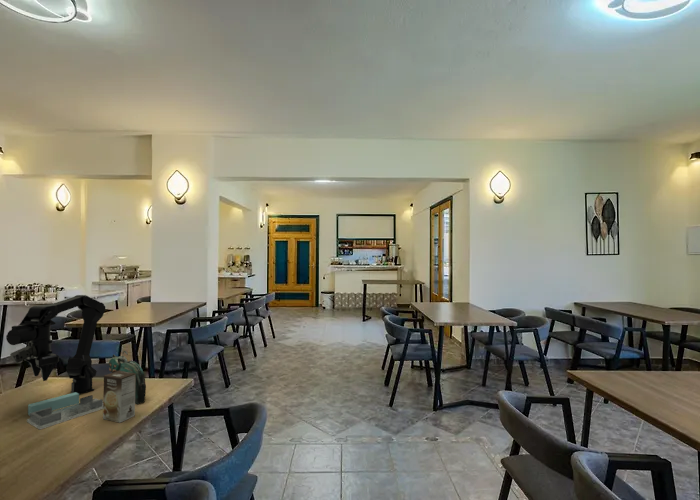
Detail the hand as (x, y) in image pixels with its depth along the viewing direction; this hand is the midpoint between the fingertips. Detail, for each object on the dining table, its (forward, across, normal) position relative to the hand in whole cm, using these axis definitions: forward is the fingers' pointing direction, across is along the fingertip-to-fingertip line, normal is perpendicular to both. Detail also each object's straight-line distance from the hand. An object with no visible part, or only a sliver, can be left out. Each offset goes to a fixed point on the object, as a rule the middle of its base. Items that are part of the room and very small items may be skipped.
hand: (40, 378), depth 138 cm
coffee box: (+12, +33, +14) cm, 37 cm away
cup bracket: (+12, +14, +5) cm, 19 cm away
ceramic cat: (+13, +17, +24) cm, 32 cm away
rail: (+13, +3, +3) cm, 13 cm away
